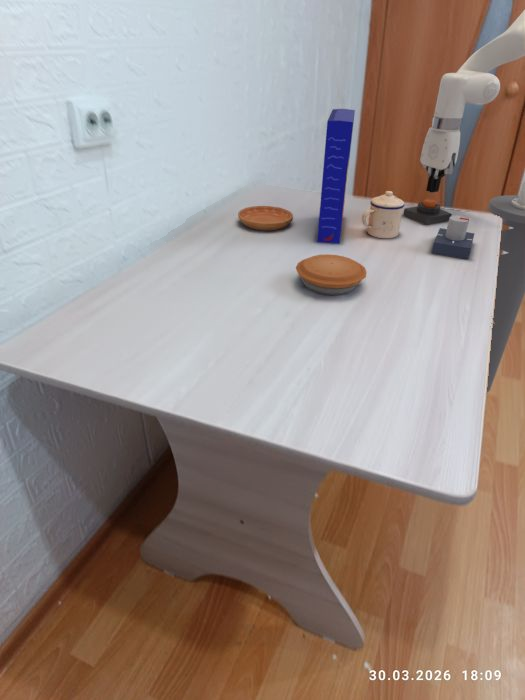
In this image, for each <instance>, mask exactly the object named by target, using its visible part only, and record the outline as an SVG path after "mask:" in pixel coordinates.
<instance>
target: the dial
mask: <svg viewBox="0 0 525 700" xmlns="http://www.w3.org/2000/svg"><path fill="white" fill-rule="evenodd" d="M469 223H470V218H468V217H467V216H462V215H452V216H451V217H450V218H449V221H447V226H446V229H447V231H446V235H445V237H446V238H448V239H450V240H455V241H461V240H464V239H465V235H466V232H468V227H469Z"/></svg>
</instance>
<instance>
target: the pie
mask: <svg viewBox="0 0 525 700" xmlns="http://www.w3.org/2000/svg"><path fill="white" fill-rule="evenodd" d="M295 269H296V272H297V274H298V276H299V277H300V280H301V281H302V282H303V284H304V286H305V287H306V288H307V289H309V290H310V291H312V292H314V293H316V294H321V295H326V296H340V295H345V294H346V295H347V294H348V293H351V292H352V291H353V290H355V288H357V286H358V285H359V284H360V283H361V282H362V281H363V280H364V279H365V278H367V269H366V267H365V266H364V265H363V264H362V263H360V262H358V261H357V260H354V259H352V258H350V257H346V256H344V255H338V254H328V253H327V254H317V255H313V256H309V257H307V258H304V259H301V260H300V261H299V262H298V263H297V264H296V266H295Z"/></svg>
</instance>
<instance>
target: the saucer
mask: <svg viewBox="0 0 525 700" xmlns="http://www.w3.org/2000/svg"><path fill="white" fill-rule="evenodd" d="M237 218H238V220H239V221H240V222H241V223H242V224H243V225H244V226H246V227H247V228H250V229H253V230H256V231H277V230H281V229H284V228H285V227H286V226H288V225H289V224H290V223H291V222H292V221H293V218H294V214H293V212H291V211H290V210H288V209H286V208H282V207H280V206H279V207H278V206H272V205H253V206H248V207H244V208H242V209H240V210H239V211H238V213H237Z"/></svg>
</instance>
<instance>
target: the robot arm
mask: <svg viewBox="0 0 525 700" xmlns="http://www.w3.org/2000/svg"><path fill="white" fill-rule="evenodd" d="M523 57H525V9H524V10H523V11H522V12H521V13H520V15H519V16H518V17H516V19H515V20H514V21H513V22H512V23H511V25H510V26H509V27H508V28H507V29H506V30H505V31H504V32H503V33H501V34H499V35H498V36H496V37H495V38H493V39H492V40H490V41H489V42H488V43H486V44H484V45H483V46H481V47H480V48H479V49H478V50H475V52H473V54H471V55H470V56H469V57H468V58H467V60H465V62H463V64H462V65H461V66H460V67H459V69H458V70H457V71H456V72H448V73H444V74H443V75H442V77H441V79H440V83H439V88H438V92H437V98H436V103H435V104H436V105H435V107H434V108H435V109H434V113H433V117H432V118H431V122H432V124H431V127H429V128H428V131H427V133H426V135H425V138H424V141H423V145H422V149H421V153H420V158H419V161H420V164H421V167H422V168H424V169H425V170H426V172H427V174H426V175H427V177H428V178H427V184H426V188H425V191H426V192H428V193H432V194H433V193H437V192H439V191H440V187H441V186H440V185H441V181H442V179H443V178H444V177H445V176H446V175H451V174H453V172H454V168H455V166H456V165H457V161H458V155H459V151H460V145H461V131H460V130H461V125H462V120H463V117H464V113H465V112H464V111H465V107H466V104H472V105H478V106H479V105H480V106H481V105H487V104H490V103H491V102H493V101H494V100H495V99H496V98H497V96H498V95H499V93H500V90H501V82H500V79H499V78H498V77H497V76H496V75H495V74H493V73H490V72H491V71H492V70H494V69H495V68H497V67H499V66H502V65H505V64H507V63H511V62H514V61H517V60H519V59H521V58H523ZM511 205H512V206H514V207H516V208H519V209H522V210H525V176H524V177H523V180H522V183H521V187H520V190H519V193H518V198H516V199H513V200H512V202H511Z"/></svg>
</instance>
